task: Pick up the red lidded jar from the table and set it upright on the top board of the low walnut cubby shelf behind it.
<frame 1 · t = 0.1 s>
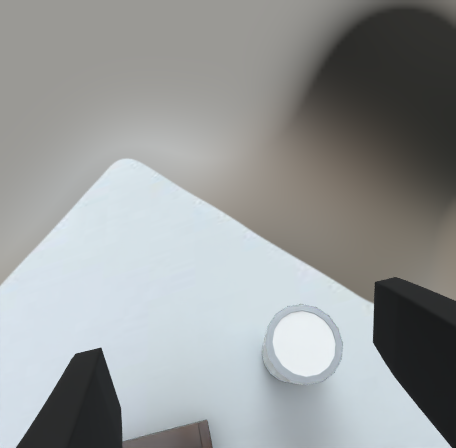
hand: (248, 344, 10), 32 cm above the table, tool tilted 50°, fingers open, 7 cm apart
white cup: (288, 353, 42), on the table
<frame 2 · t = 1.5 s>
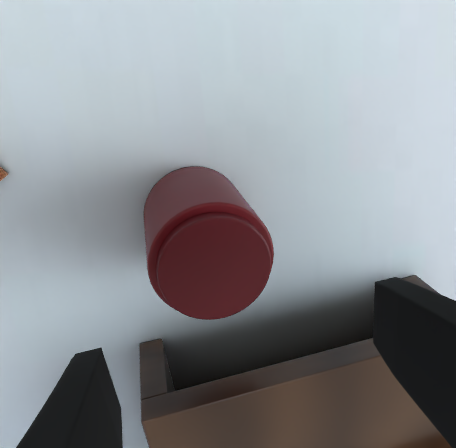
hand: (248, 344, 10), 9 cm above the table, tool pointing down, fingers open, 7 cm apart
shelf: (290, 369, 24), on the table
red lidded jar: (193, 213, 19), on the table
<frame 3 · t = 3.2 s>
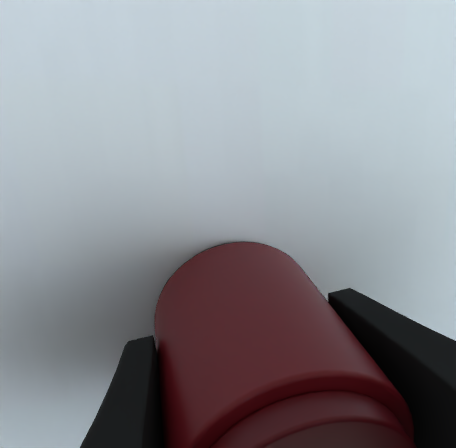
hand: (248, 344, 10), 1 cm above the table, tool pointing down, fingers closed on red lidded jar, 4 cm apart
red lidded jar: (234, 312, 12), on the table, touching gripper
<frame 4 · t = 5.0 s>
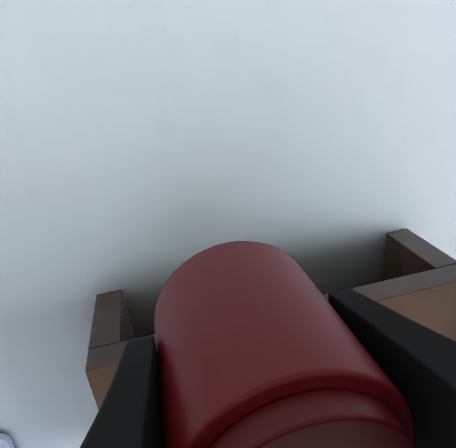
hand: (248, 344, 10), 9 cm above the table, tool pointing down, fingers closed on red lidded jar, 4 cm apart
shelf: (267, 332, 22), on the table
red lidded jar: (234, 312, 12), point 7 cm above the table, touching gripper
when the fingers open (6 cm above the table, at t = 6.9 s): red lidded jar stays where it is, resting on shelf.
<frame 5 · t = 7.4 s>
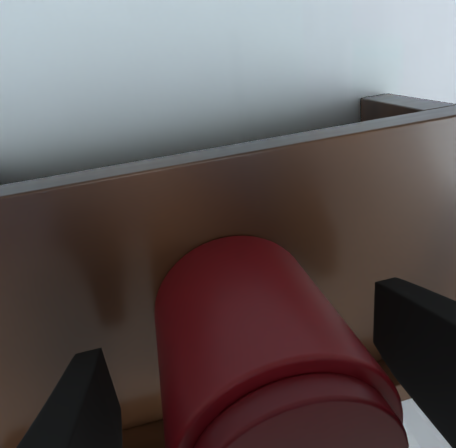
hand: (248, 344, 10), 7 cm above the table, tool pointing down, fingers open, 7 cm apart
shelf: (206, 236, 16), on the table
red lidded jar: (232, 305, 12), point 5 cm above the table, touching shelf
white cup: (435, 402, 24), on the table
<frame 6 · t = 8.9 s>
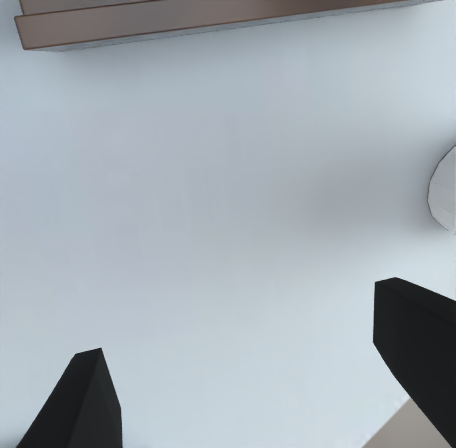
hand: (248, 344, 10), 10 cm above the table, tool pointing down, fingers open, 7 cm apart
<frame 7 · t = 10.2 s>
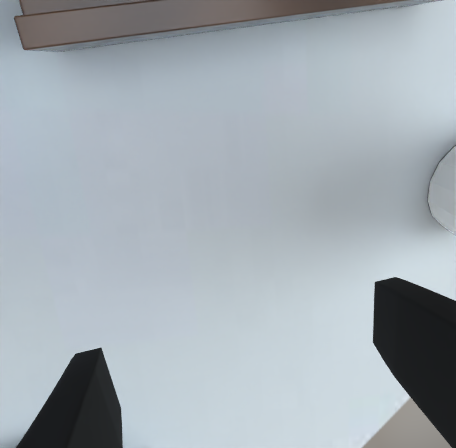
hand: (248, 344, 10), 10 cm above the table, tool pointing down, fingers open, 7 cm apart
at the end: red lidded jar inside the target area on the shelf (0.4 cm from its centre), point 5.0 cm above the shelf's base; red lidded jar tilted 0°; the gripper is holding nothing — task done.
